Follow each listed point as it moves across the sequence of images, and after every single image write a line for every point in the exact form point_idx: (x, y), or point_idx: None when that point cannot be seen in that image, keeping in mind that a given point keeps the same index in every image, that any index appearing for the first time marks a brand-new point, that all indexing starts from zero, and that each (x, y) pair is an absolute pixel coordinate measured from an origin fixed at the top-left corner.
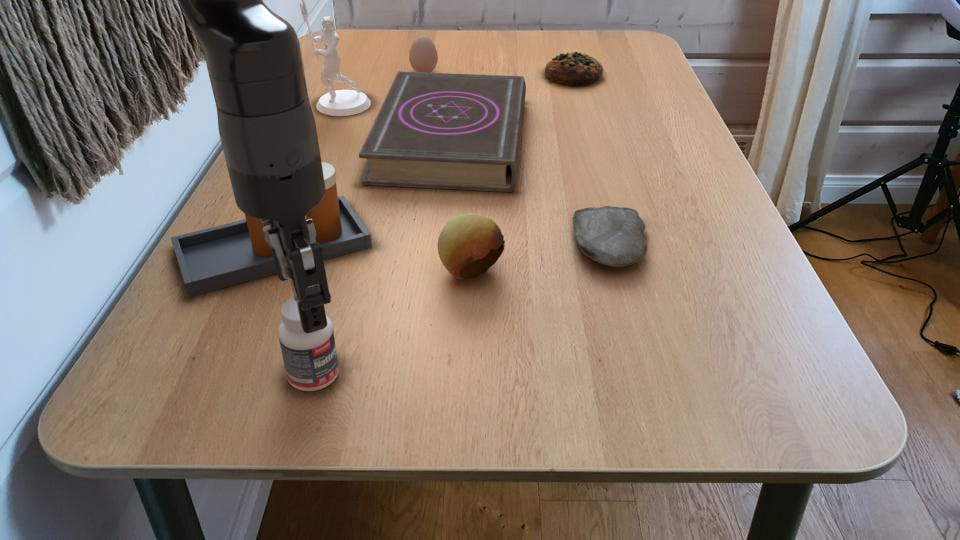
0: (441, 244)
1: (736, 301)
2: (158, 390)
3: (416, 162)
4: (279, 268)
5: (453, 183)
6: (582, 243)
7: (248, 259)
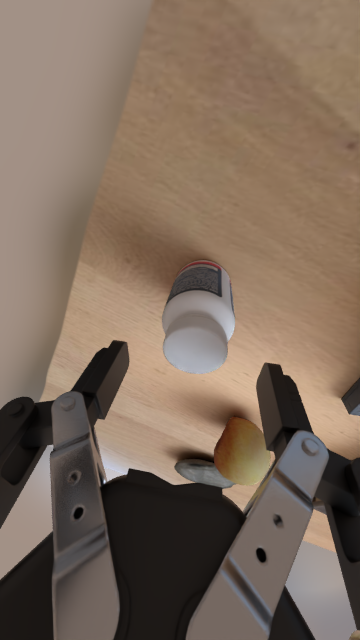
0: (249, 448)
1: (134, 462)
2: (327, 42)
3: None
4: (270, 386)
5: None
6: (204, 468)
7: None
